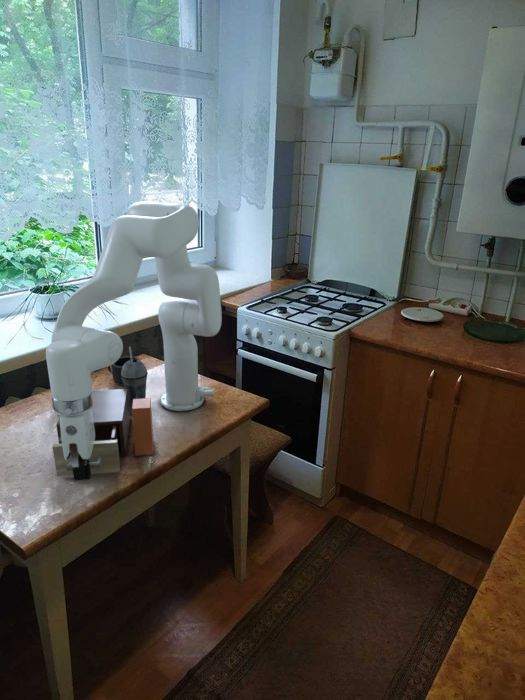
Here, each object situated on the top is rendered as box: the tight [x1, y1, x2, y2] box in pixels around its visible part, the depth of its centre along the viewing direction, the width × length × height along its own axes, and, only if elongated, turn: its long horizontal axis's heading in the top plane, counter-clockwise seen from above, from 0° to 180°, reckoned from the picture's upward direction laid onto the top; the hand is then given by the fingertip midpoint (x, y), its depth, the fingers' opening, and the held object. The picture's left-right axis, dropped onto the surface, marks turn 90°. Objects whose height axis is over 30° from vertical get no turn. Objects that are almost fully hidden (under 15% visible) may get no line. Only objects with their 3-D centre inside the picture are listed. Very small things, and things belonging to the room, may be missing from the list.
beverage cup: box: [121, 346, 148, 414], centre depth 137 cm, size 7×7×20 cm
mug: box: [107, 355, 142, 386], centre depth 157 cm, size 12×9×7 cm
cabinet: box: [55, 388, 131, 457], centre depth 125 cm, size 17×15×10 cm
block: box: [131, 397, 154, 456], centre depth 121 cm, size 4×5×13 cm
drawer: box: [52, 424, 121, 478], centre depth 115 cm, size 20×14×8 cm
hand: (82, 477), depth 105 cm, fingers closed
